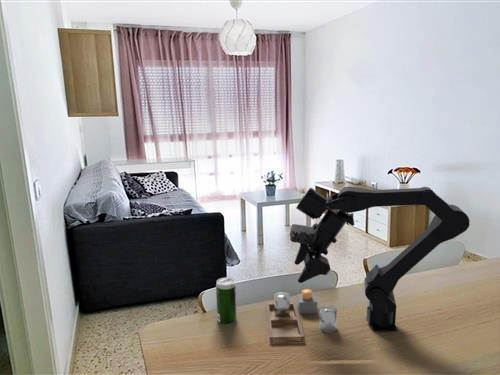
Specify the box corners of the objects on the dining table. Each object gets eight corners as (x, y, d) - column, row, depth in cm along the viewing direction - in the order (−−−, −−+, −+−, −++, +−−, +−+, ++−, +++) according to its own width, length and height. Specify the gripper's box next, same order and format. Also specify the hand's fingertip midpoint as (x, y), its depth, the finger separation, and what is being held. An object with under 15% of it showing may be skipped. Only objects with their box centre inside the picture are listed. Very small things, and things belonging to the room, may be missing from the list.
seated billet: (289, 311, 111) (289, 291, 110) (290, 319, 107) (290, 299, 105) (273, 311, 111) (273, 292, 110) (274, 319, 107) (274, 299, 105)
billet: (334, 325, 105) (334, 304, 103) (337, 334, 100) (338, 313, 99) (317, 325, 105) (318, 305, 103) (321, 334, 100) (321, 313, 99)
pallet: (295, 308, 114) (296, 301, 113) (305, 345, 96) (305, 337, 96) (265, 308, 114) (265, 302, 113) (268, 345, 96) (268, 338, 95)
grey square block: (314, 306, 115) (314, 293, 114) (317, 315, 110) (317, 302, 109) (297, 306, 115) (297, 294, 114) (299, 315, 110) (299, 302, 109)
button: (311, 295, 113) (311, 289, 112) (313, 300, 110) (313, 293, 109) (301, 295, 113) (301, 289, 112) (302, 300, 110) (302, 294, 109)
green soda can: (223, 329, 103) (221, 287, 101) (213, 320, 108) (212, 280, 105) (240, 322, 106) (239, 282, 104) (230, 314, 111) (229, 275, 108)
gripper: (298, 201, 110) (271, 244, 115) (306, 230, 93) (274, 279, 97) (331, 219, 112) (303, 260, 117) (345, 251, 94) (311, 297, 99)
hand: (297, 272), depth 107 cm, fingers open, 9 cm apart
